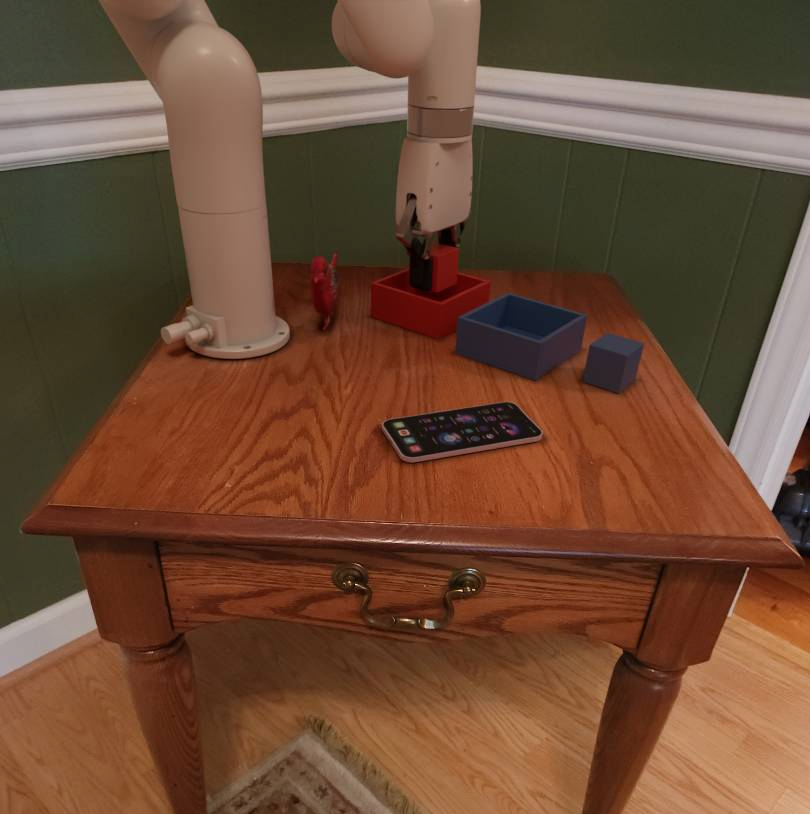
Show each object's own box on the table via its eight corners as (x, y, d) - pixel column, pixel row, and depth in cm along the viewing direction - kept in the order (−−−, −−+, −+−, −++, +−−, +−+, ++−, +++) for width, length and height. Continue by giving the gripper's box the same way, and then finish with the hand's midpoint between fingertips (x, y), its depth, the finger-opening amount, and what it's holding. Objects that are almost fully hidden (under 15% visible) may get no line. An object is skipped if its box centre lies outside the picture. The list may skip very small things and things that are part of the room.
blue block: (618, 394, 81) (627, 355, 78) (582, 381, 83) (589, 344, 80) (635, 380, 83) (644, 343, 81) (599, 369, 86) (607, 332, 83)
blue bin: (535, 381, 83) (541, 343, 80) (454, 353, 88) (457, 317, 85) (581, 350, 90) (587, 314, 87) (503, 326, 95) (507, 292, 92)
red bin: (439, 339, 91) (441, 304, 88) (370, 316, 96) (370, 282, 93) (487, 314, 98) (491, 281, 95) (421, 294, 103) (422, 262, 100)
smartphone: (378, 420, 73) (512, 400, 77) (378, 425, 73) (512, 405, 77) (404, 459, 67) (547, 435, 72) (404, 464, 68) (546, 440, 72)
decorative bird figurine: (306, 346, 88) (301, 262, 82) (327, 295, 102) (325, 219, 96) (330, 348, 88) (327, 264, 82) (348, 296, 102) (346, 220, 96)
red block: (436, 293, 92) (438, 256, 89) (408, 284, 94) (409, 248, 91) (456, 283, 95) (459, 248, 92) (429, 276, 97) (430, 240, 94)
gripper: (455, 111, 90) (446, 261, 101) (366, 128, 79) (368, 293, 91) (507, 118, 87) (492, 273, 98) (421, 137, 76) (416, 308, 87)
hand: (432, 281), depth 94 cm, fingers closed on red block, 4 cm apart
